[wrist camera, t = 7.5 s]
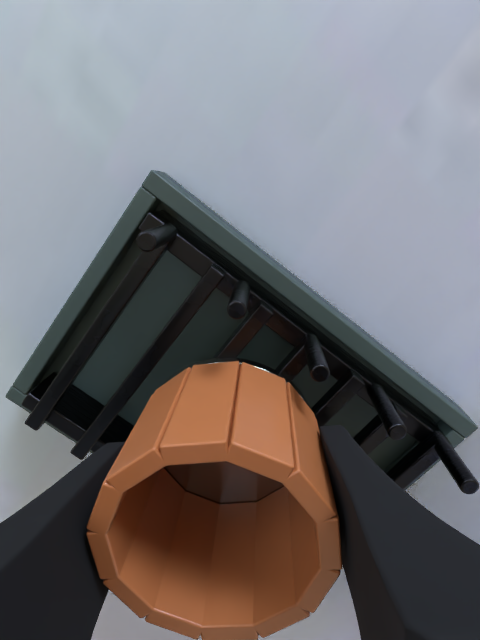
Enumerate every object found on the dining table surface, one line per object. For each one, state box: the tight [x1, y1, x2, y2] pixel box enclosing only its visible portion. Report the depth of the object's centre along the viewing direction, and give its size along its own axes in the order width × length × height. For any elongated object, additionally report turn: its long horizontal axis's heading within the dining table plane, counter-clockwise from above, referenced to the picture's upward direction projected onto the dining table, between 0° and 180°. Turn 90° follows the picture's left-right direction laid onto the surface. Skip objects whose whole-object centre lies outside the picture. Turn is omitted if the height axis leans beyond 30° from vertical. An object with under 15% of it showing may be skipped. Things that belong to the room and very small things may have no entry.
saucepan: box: [86, 357, 342, 640], centre depth 12 cm, size 11×6×4 cm, turn 7°
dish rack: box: [6, 170, 479, 494], centre depth 14 cm, size 14×10×5 cm
